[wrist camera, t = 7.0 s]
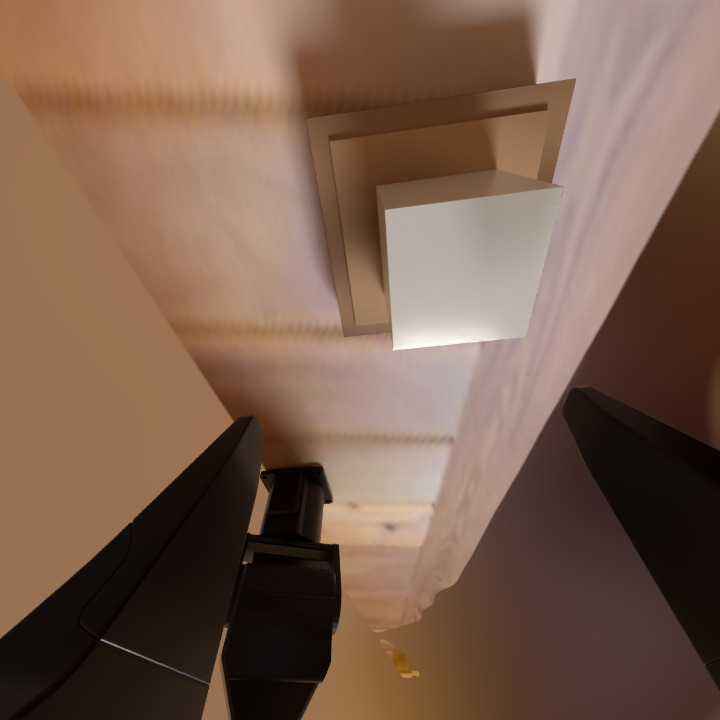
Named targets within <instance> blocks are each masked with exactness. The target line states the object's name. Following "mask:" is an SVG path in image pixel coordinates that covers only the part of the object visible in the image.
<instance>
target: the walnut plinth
mask: <svg viewBox="0 0 720 720" xmlns="http://www.w3.org/2000/svg"><path fill="white" fill-rule="evenodd" d="M575 82H576V78H575V79H569V80H562V81H555V82H549V83H542V84H535V85H529V86H522V87H515V88H509V89H502V90H495V91H488V92H482V93H475V94H468V95H462V96H455V97H448V98H442V99H435V100H428V101H422V102H415V103H408V104H402V105H395V106H388V107H382V108H375V109H368V110H362V111H355V112H348V113H342V114H335V115H328V116H322V117H315V118H308V119H306V123H307V128H308V134H309V140H310V145H311V151H312V157H313V163H314V168H315V174H316V180H317V185H318V191H319V197H320V202H321V208H322V214H323V220H324V225H325V231H326V237H327V242H328V248H329V254H330V260H331V265H332V271H333V277H334V282H335V288H336V294H337V299H338V305H339V311H340V317H341V322H342V328H343V334H344V337H350V336H359V335H369V334H379V333H388V332H390V326H389V321H388V315H387V309H386V303H385V297H384V286H383V273H382V260H381V246H380V233H379V219H378V206H377V192H376V186H378V185H385V184H393V183H400V182H407V181H415V180H422V179H430V178H437V177H444V176H452V175H459V174H466V173H474V172H481V171H488V170H496V169H498V170H502V171H505V172H509V173H513V174H517V175H521V176H525V177H529V178H533V179H537V180H540V181H544V182H548V183H552V180H553V176H554V171H555V167H556V163H557V159H558V154H559V150H560V146H561V141H562V137H563V133H564V129H565V124H566V120H567V116H568V112H569V107H570V103H571V99H572V95H573V90H574V86H575Z"/></svg>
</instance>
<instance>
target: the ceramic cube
mask: <svg viewBox="0 0 720 720" xmlns="http://www.w3.org/2000/svg"><path fill="white" fill-rule="evenodd" d="M563 188H564V186H560V185H556V184H552V183H548V182H544V181H540V180H537V179H533V178H529V177H525V176H521V175H517V174H513V173H509V172H505V171H502V170H498V169H496V170H488V171H481V172H474V173H466V174H459V175H452V176H444V177H437V178H430V179H422V180H415V181H407V182H400V183H393V184H385V185H378V186H376V192H377V206H378V219H379V233H380V246H381V260H382V273H383V286H384V297H385V303H386V309H387V315H388V321H389V326H390V332H391V338H392V344H393V350H400V349H410V348H419V347H429V346H439V345H449V344H459V343H469V342H479V341H489V340H499V339H509V338H519V337H526V333H527V329H528V325H529V321H530V317H531V314H532V310H533V306H534V302H535V298H536V294H537V290H538V286H539V282H540V278H541V274H542V271H543V267H544V263H545V259H546V255H547V251H548V247H549V243H550V239H551V235H552V231H553V227H554V224H555V220H556V216H557V212H558V208H559V204H560V200H561V196H562V192H563Z"/></svg>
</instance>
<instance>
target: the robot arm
mask: <svg viewBox="0 0 720 720" xmlns="http://www.w3.org/2000/svg"><path fill="white" fill-rule="evenodd" d="M562 414H563V417H564V419H565V422H566V424H567V426H568V428H569V430H570V433H571V435H572V437H573V439H574V441H575V443H576V446H577V448H578V450H579V452H580V454H581V456H582V458H583V460H584V462H585V464H586V466H587V468H588V470H589V472H590V473H591V475H592V477H593V478H594V480H595V482H596V484H597V485H598V487H599V489H600V490H601V492H602V494H603V495H604V497H605V499H606V501H607V502H608V504H609V506H610V507H611V509H612V511H613V512H614V514H615V515H616V517H617V519H618V521H619V522H620V524H621V526H622V527H623V529H624V531H625V532H626V534H627V536H628V538H629V539H630V541H631V542H632V544H633V546H634V548H635V549H636V551H637V553H638V554H639V556H640V558H641V559H642V561H643V563H644V564H645V566H646V568H647V569H648V571H649V573H650V575H651V576H652V578H653V580H654V581H655V583H656V584H657V586H658V588H659V590H660V591H661V593H662V595H663V596H664V598H665V600H666V601H667V603H668V605H669V607H670V608H671V610H672V612H673V613H674V615H675V617H676V618H677V620H678V622H679V623H680V625H681V626H682V628H683V630H684V632H685V633H686V635H687V637H688V639H689V640H690V642H691V644H692V645H693V647H694V649H695V650H696V652H697V654H698V655H699V657H700V659H701V660H702V662H703V663H704V664H705V668H706V669H707V671H708V673H709V674H710V676H711V678H712V679H713V681H714V683H715V685H716V686H717V688H718V690H719V691H720V451H719V450H717V449H715V448H713V447H711V446H709V445H707V444H705V443H703V442H701V441H699V440H697V439H695V438H693V437H691V436H689V435H687V434H685V433H683V432H681V431H679V430H677V429H675V428H673V427H671V426H669V425H667V424H665V423H663V422H661V421H659V420H657V419H655V418H652V417H651V416H648V415H646V414H644V413H642V412H640V411H638V410H636V409H634V408H632V407H630V406H628V405H626V404H624V403H622V402H620V401H618V400H616V399H614V398H612V397H610V396H608V395H606V394H604V393H602V392H600V391H598V390H596V389H594V388H592V387H589V386H580V387H573V388H571V389H570V390H569V392H568V395H567V397H566V400H565V402H564V405H563V408H562ZM263 445H264V434H263V431H262V429H261V427H260V424H259V422H258V420H257V418H256V417H255V416H254V415H248V416H241V417H239V418H238V419H237V420H236V421H235V422H234V423H233V424H232V425H231V426H230V427H229V428H228V429H226V431H224V432H223V433H222V434H221V435H220V436H219V437H218V438H217V439H216V440H215V441H214V442H213V443H212V444H211V445H210V446H209V447H208V448H207V449H206V450H205V451H204V452H203V453H202V454H201V455H200V456H199V457H198V458H196V459H195V460H194V462H193V463H192V464H190V465H189V466H188V467H187V468H186V469H185V470H184V471H183V472H182V473H181V474H180V475H179V476H178V477H177V478H176V479H175V480H174V481H173V482H172V483H171V484H170V485H169V486H168V487H166V488H165V490H163V491H162V492H161V493H160V494H159V495H158V496H157V497H156V498H155V499H154V500H153V501H152V502H151V503H150V504H149V505H148V506H147V507H146V508H145V509H144V510H143V511H142V512H141V513H140V514H139V515H138V516H137V517H135V518H134V520H133V523H129V524H128V525H127V526H126V527H125V528H124V529H123V530H122V531H121V532H120V533H119V534H118V535H117V536H116V537H115V538H114V539H113V540H111V541H110V542H109V543H108V544H107V545H106V546H105V547H104V548H103V549H102V550H101V551H100V552H99V553H98V554H97V555H96V556H94V557H93V559H91V560H90V561H89V562H88V563H87V564H86V565H84V566H83V567H82V568H81V569H80V570H79V571H78V572H77V573H75V574H74V575H73V576H72V577H71V578H70V579H69V580H68V581H66V582H65V583H64V584H63V585H62V586H61V587H60V588H58V589H57V590H56V591H55V592H54V593H53V594H51V595H50V596H49V597H48V598H47V599H46V600H44V602H42V603H41V604H40V605H39V606H38V607H36V608H35V609H34V610H33V611H32V612H31V613H29V614H28V615H27V616H26V617H25V618H24V619H22V620H21V621H20V622H19V623H18V624H17V625H16V626H14V627H13V628H12V629H11V630H10V631H9V632H8V633H6V634H5V635H4V636H3V637H2V638H1V639H0V720H201V718H202V714H203V710H204V706H205V702H206V698H207V694H208V690H209V684H210V681H211V677H212V673H213V669H214V665H215V661H216V656H217V652H218V648H219V644H220V640H221V636H222V632H223V628H225V627H226V628H228V630H227V634H226V639H225V642H224V646H223V650H222V654H221V658H220V670H221V676H222V681H223V688H224V693H225V699H226V705H227V712H228V717H229V720H301V718H302V716H303V714H304V712H305V710H306V708H307V706H308V704H309V702H310V700H311V698H312V696H313V694H314V692H315V690H316V688H317V686H318V684H319V683H322V682H323V680H324V678H325V676H326V673H327V671H328V668H329V666H330V663H331V642H332V641H331V640H332V635H334V634H335V632H336V629H337V626H338V622H339V617H340V610H341V575H340V557H339V544H332V545H331V544H323V543H320V540H321V528H322V517H323V506H324V504H329V503H332V502H333V497H332V494H331V491H330V488H329V484H328V481H327V478H326V475H325V472H324V469H323V468H321V467H311V468H298V469H284V470H271V471H262V472H261V475H260V468H261V461H262V453H263ZM259 475H260V478H261V480H262V482H263V483H264V485H265V487H266V489H267V490H268V492H269V496H268V500H267V504H266V509H265V513H264V517H263V521H262V525H261V529H260V533H259V535H253V534H250V533H247V531H248V527H249V523H250V519H251V515H252V510H253V507H254V503H255V499H256V493H257V489H258V483H259ZM243 561H246V562H248V563H247V564H243ZM249 562H251V563H249Z"/></svg>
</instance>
